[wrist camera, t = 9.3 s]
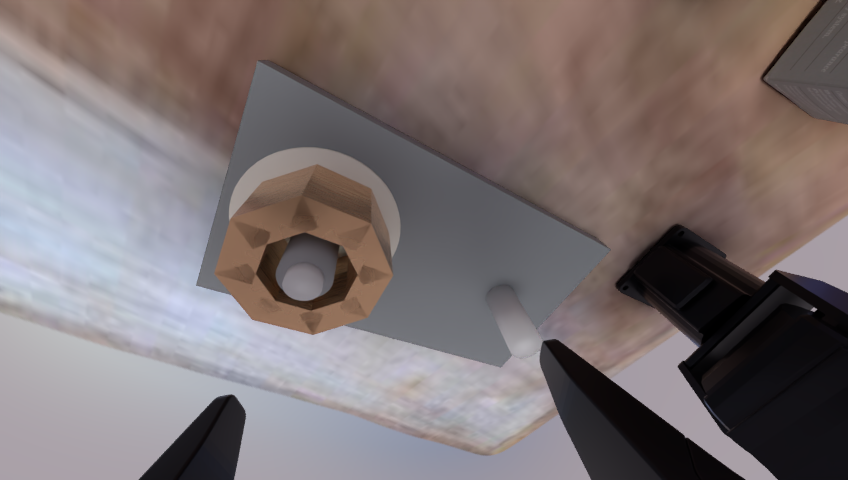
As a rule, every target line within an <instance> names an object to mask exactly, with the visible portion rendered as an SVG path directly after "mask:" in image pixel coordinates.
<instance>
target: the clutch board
mask: <svg viewBox="0 0 848 480" xmlns="http://www.w3.org/2000/svg"><path fill="white" fill-rule="evenodd" d="M316 164H318V165H320V166H323V167H325V168H327V169H329V170H331V171H334V172H336V173H338V174H340V175H343V176H345V177H347V178H349V179H351V180H354V181H356V182H358V183H360V184H362V185H365V186H367V187H369V188H371V189H372V191H373V194H374V196H375V199H376V201H377V204H378V206H379V209H380V211H381V214H382V216H383V219H384V222H385V224H386V227H387V229H388V232H389V236H390V246H391V257H392V267H393V277H392V278H391V280H390V282H389V283H388V285H387V287H386V288H385V290H384V292H383V293H382V295H381V296H380V298H379V300H378V301H377V303H376V305H375V306H374V308H373V310H372V311H371V313H370V315H369V316H368V318H365V319H362V320H359V321H356V322H352V323H349V324H346V325H345V326H349V327H352V328H356V329H360V330H364V331H367V332H371V333H375V334H378V335H382V336H386V337H390V338H393V339H397V340H401V341H404V342H408V343H412V344H416V345H419V346H423V347H427V348H430V349H434V350H438V351H442V352H445V353H449V354H453V355H456V356H460V357H464V358H468V359H471V360H475V361H479V362H483V363H486V364H490V365H494V366H497V367H502V366H503V365H504V364H505V362H506V361H507V360H508V359H509V358H510V357H511V356H512V355H513V356H514V357H516V358H527V357H530V356H532V355H534V354H536V353H537V352H538V351H539V350H540V349H541V346H542V342H543V340H542V338H541V336H540V335H539V333H538V331H537V330H536V329H537V328H538V327H539V326H540V325H541V324H542V323H543V322H544V321H545V320H546V319H547V318H548V317H549V315H550V314H551V313H552V312H553V311H554V310H555V309H556V308H557V307H558V306H559V305H560V304H561V303H562V302H563V301H564V299H565V298H566V297H567V296H568V295H569V294H570V293H571V292H572V291H573V290H574V289H575V288H576V287H577V286H578V284H579V283H580V282H581V281H582V280H583V279H584V278H585V277H586V276H587V275H588V274H589V273H590V272H591V271H592V270H593V268H594V267H595V266H596V265H597V264H598V263H599V262H600V261H601V260H602V259H603V258H604V257H605V256H606V255H607V254H608V252H609V251H610V250H611V249H610V248H608V247H607V246H606V245H605V244H603V243H602V242H601V241H600V240H598V239H597V238H595V237H593V236H592V235H590V234H588V233H586V232H584V231H582V230H581V229H579V228H577V227H575V226H573V225H571V224H569V223H568V222H566V221H564V220H562V219H560V218H558V217H557V216H555V215H553V214H551V213H549V212H547V211H546V210H544V209H542V208H540V207H538V206H536V205H534V204H533V203H531V202H529V201H527V200H525V199H523V198H522V197H520V196H518V195H516V194H514V193H512V192H510V191H509V190H507V189H505V188H503V187H501V186H499V185H498V184H496V183H494V182H492V181H490V180H488V179H486V178H485V177H483V176H481V175H479V174H477V173H475V172H474V171H472V170H470V169H468V168H466V167H464V166H462V165H461V164H459V163H457V162H455V161H453V160H451V159H450V158H448V157H446V156H444V155H442V154H440V153H439V152H437V151H435V150H433V149H431V148H429V147H427V146H426V145H424V144H422V143H420V142H418V141H416V140H415V139H413V138H411V137H409V136H407V135H405V134H403V133H402V132H400V131H398V130H396V129H394V128H392V127H391V126H389V125H387V124H385V123H383V122H381V121H379V120H378V119H376V118H374V117H372V116H370V115H368V114H367V113H365V112H363V111H361V110H359V109H357V108H356V107H354V106H352V105H350V104H348V103H346V102H344V101H343V100H341V99H339V98H337V97H335V96H333V95H332V94H330V93H328V92H326V91H324V90H322V89H320V88H319V87H317V86H315V85H313V84H311V83H309V82H308V81H306V80H304V79H302V78H300V77H298V76H296V75H295V74H293V73H291V72H289V71H287V70H285V69H284V68H282V67H280V66H278V65H276V64H274V63H273V62H271V61H269V60H259V61H257V65H256V69H255V72H254V76H253V80H252V83H251V87H250V90H249V94H248V98H247V101H246V105H245V109H244V112H243V116H242V120H241V123H240V127H239V131H238V134H237V138H236V142H235V145H234V149H233V153H232V156H231V160H230V163H229V167H228V171H227V174H226V178H225V182H224V185H223V189H222V193H221V196H220V200H219V204H218V207H217V211H216V215H215V218H214V222H213V226H212V229H211V233H210V236H209V240H208V244H207V247H206V251H205V255H204V258H203V262H202V266H201V269H200V273H199V277H198V280H197V284H196V286H200V287H204V288H207V289H211V290H215V291H219V292H222V293H226V294H230V295H231V293H230V292H229V291H228V290H227V289H226V287H225V286H224V285H223V284H222V283H221V282H220V280H219V279H218V278H217V277H216V276H215V274H214V272H215V269H216V266H217V262H218V259H219V255H220V252H221V249H222V245H223V242H224V239H225V235H226V232H227V229H228V225H229V222H230V219H231V217H232V216H233V215H234V214H235V213H236V211H237V210H238V209H239V208H240V207H241V206H242V204H243V203H244V202H245V201H246V200H247V199H248V198H249V196H250V195H251V194H252V193H253V192H254V191H255V189H256V188H257V187H258V186H259V185H260V184H261V182H263V181H266V180H270V179H273V178H276V177H279V176H282V175H285V174H288V173H291V172H294V171H297V170H300V169H304V168H307V167H310V166H313V165H316ZM285 240H286V241H287V243H288V245H287V247H286V249H285V251H284V254H283V256H282V258H281V260H280V263H279V265H278V267H277V270H276V280H277V283H278V285H279V286H280V287H281V289H283V290H284V292H285V293H286V294H287V295H288V296H289V297H291V298H293V299H295V300H299V301H308V300H312V299H315V298H316V297H319V296H322V295H324V294H325V293H326V292H328V291H329V290H330V288H331V287H332V285H333V281H334V275H335V270H336V264H337V258H340V257H343V256H346V255H347V253H346V251H345V249H344V247H343V246H341V245H338V244H335V243H333V242H330V241H327V240H325V239H322V238H319V237H316V236H314V235H311V234H308V233H305V232H304V233H301V234H298V235H294V236H291V237H288V238H285Z"/></svg>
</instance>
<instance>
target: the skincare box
mask: <svg viewBox="0 0 848 480" xmlns="http://www.w3.org/2000/svg"><path fill="white" fill-rule="evenodd" d="M764 81H766V82H767V83H768V84H770V85H771V86H772V87H774V88H775V89H777V90H778V91H779V92H781V93H782V94H783V95H785V96H786V97H787V98H788V99H790V100H791V101H792V102H794V103H795V104H796V105H797V106H798V107H800V108H801V109H803V110H804V111H805V112H807V113H808V114H809V115H811V116H812V117H814V118H816V119H823V120H828V121H833V122H838V123H843V124H848V0H827V1H826V3H825V4H824V5H823V6H822V7H821V9H820V10H819V11H818V12H817V13H816V15H815V16H814V17H813V18H812V20H811V21H810V22H809V23H808V24H807V25H806V27H805V28H804V29H803V30H802V32H801V33H800V34H799V35H798V36H797V38H796V39H795V40H794V41H793V43H792V44H791V45H790V46H789V47H788V49H787V50H786V51H785V52H784V54H783V55H782V56H781V57H780V59H779V60H778V61H777V63H776V64H775V65H774V66H773V67H772V69H771V70H770V71H769V72H768V73H767V75H766V76H765V77H764Z"/></svg>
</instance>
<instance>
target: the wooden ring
mask: <svg viewBox="0 0 848 480" xmlns="http://www.w3.org/2000/svg"><path fill="white" fill-rule="evenodd" d="M304 232H305V233H308V234H311V235H314V236H316V237H319V238H322V239H325V240H327V241H330V242H333V243H335V244H338V245H341V246H343V247H344V249H345V251H346V253H347V255H346V256H343V257H340V258H337V264H336V270H335V275H334V281H333V285H332V287H331V288H330V290H329V291H328V292H326V293H325V294H324V295H322V296H319V297H316V298H315V299H312V300H308V301H299V300H295V299H293V298H291V297H289V296H288V295H287V294H286V293H285V292H284V290H283V289H281V287H280V286H279V285H278V283H277V280H276V270H277V267H278V265H279V263H280V260H281V258H282V256H283V254H284V251H285V249H286V247H287V245H288V243H287V241H286V240H285V238H288V237H291V236H294V235H298V234H301V233H304ZM214 274H215V276H216V277H217V278H218V279H219V280H220V282H221V283H222V284H223V285H224V286H225V287H226V289H227V290H228V291H229V292H230V293H231V295H232V296H233V297H234V298H235V299H236V301H237V302H238V303H239V304H240V305H241V307H242V308H243V309H244V310H245V311H246V313H247V314H248V315H249V316H250V317H251V319H252V320H256V321H260V322H264V323H268V324H272V325H276V326H280V327H284V328H288V329H292V330H296V331H300V332H304V333H308V334H312V335H314V334H317V333H320V332H324V331H327V330H330V329H333V328H336V327H340V326H343V325H346V324H349V323H352V322H356V321H359V320H362V319H365V318H368V316H369V315H370V313H371V311H372V310H373V308H374V306H375V305H376V303H377V301H378V300H379V298H380V296H381V295H382V293H383V292H384V290H385V288H386V287H387V285H388V283H389V282H390V280H391V278H392V277H393V267H392V257H391V246H390V236H389V232H388V229H387V227H386V224H385V222H384V219H383V216H382V214H381V211H380V209H379V206H378V204H377V201H376V199H375V196H374V194H373V191H372V189H371V188H369V187H367V186H365V185H362V184H360V183H358V182H356V181H354V180H351V179H349V178H347V177H345V176H343V175H340V174H338V173H336V172H334V171H331V170H329V169H327V168H325V167H323V166H320V165H318V164H316V165H313V166H310V167H307V168H304V169H300V170H297V171H294V172H291V173H288V174H285V175H282V176H279V177H276V178H273V179H270V180H266V181H263V182H261V184H260V185H259V186H258V187H257V188H256V189H255V191H254V192H253V193H252V194H251V195H250V196H249V198H248V199H247V200H246V201H245V202H244V203H243V204H242V206H241V207H240V208H239V209H238V210H237V211H236V213H235V214H234V215H233V216H232V217H231V219H230V222H229V225H228V229H227V232H226V235H225V239H224V242H223V245H222V249H221V252H220V255H219V259H218V262H217V266H216V269H215V272H214Z"/></svg>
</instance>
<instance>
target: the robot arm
mask: <svg viewBox="0 0 848 480" xmlns="http://www.w3.org/2000/svg"><path fill="white" fill-rule="evenodd" d="M725 258H726V254H725V253H723V252H722V251H720V250H719V249H717V248H716V247H714V246H713V245H711V244H710V243H708V242H707V241H705V240H704V239H702V238H701V237H699V236H698V235H696V234H695V233H693V232H692V231H690V230H689V229H687V228H685V227H684V226H682V225H678V226H675V227H674V228H673V229H672V230H671V231H670V232H669V233H668V234H667V235H666V236H665V237H664V238H663V239H662V240H661V241H660V242H659V243H658V244H657V245H656V246H655V247H654V248H653V249H652V250H651V251H650V252H649V253H648V254H647V255H646V256H645V257H644V258H643V259H642V260H641V261H640V262H639V263H638V264H637V265H636V266H635V267H634V268H633V269H632V270H631V271H630V272H629V273H628V274H627V275H626V276H625V277H624V278H623V279H622V280H621V281H620V282H619V283H618V284H617V286H616V288H617V289H618V290H619V291H620V292H621V293H623V294H626V295H628V296H630V297H632V298H634V299H636V300H638V301H641V302H643V303H645V304H647V305H649V306H651V307H653V308H655V309H657V310H658V311H659V312H660V313H661V314H662V315H663V316H664V317H665V318H667V319H668V320H669V321H670V322H671V323H672V324H673V325H674V326H676V327H677V328H678V329H679V330H680V331H681V332H682V333H683V334H684V335H686V336H687V337H688V338H689V339H690V340H691V341H692V342H693V343H695V344H696V345H697V346H698V347H699V348H698V349H697V350H696V351H695V352H694V353H693V354H692V355H691V356H690V357H689V358H688V359H686V360H685V361H682V362H681V363H680V364H679V365H678V368H679V370H680V371H681V373H682V374H683V375H684V377H685V378H686V380H687V381H688V383H689V384H690V386H691V387H692V389H693V390H694V391H695V393H696V394H697V396H698V397H699V399H700V400H701V402H702V403H703V405H704V406H705V407H706V409H707V410H708V412H709V413H710V415H711V416H712V418H713V419H714V420H715V422H716V423H717V425H718V426H719V428H720V429H721V430H722V432H723V433H724V434H725V435H727V436H728V437H730V438H731V439H732V440H733V441H734V442H736V443H737V444H738V445H739V446H741V447H742V448H743V449H744V450H746V451H747V452H749V453H750V454H752V455H753V456H754V457H755V458H756V459H757V460H758V461H759V462H760V463H761V464H763V465H764V466H765V467H766V468H767V469H768V470H769V471H770V472H771V473H772V474H773V475H774V476H775V477H776V478H777V479H778V480H848V293H847V292H845V291H842V290H840V289H838V288H836V287H834V286H832V285H829V284H827V283H825V282H823V281H820V280H816V279H811V278H807V277H803V276H799V275H795V274H791V273H787V272H783V271H779V270H775V271H774V272H773V273H772V274H771V275H770V276H769V279H768V281H766V282H764V281H762V280H761V279H759V278H757V277H756V276H754V275H752V274H750V273H749V272H747V271H745V270H743V269H742V268H740V267H738V266H737V265H735V264H733V263H731V262H730V261H728V260H726V259H725ZM813 307H815V308H817V310H816V311H815V312H813V311H810V310H811V309H812V308H813ZM540 365H541V368H542V371H543V373H544V376H545V379H546V381H547V384H548V386H549V389H550V392H551V394H552V397H553V400H554V402H555V405H556V407H557V410H558V413H559V415H560V417H561V419H562V421H563V424H564V426H565V428H566V430H567V432H568V434H569V436H570V438H571V440H572V442H573V444H574V446H575V448H576V450H577V452H578V454H579V456H580V458H581V460H582V462H583V464H584V466H585V468H586V470H587V472H588V474H589V476H590V478H591V480H745V479H744V478H742V477H741V476H739V475H738V474H736V473H735V472H733V471H732V470H731V469H729V468H728V467H727V466H725V465H724V464H722V463H721V462H720V461H718V460H717V459H716V458H714V457H713V456H712V455H710V454H709V453H707V452H706V451H705V450H703V449H702V448H701V447H699V446H698V445H697V444H695V443H694V442H693V441H691V440H690V439H689V438H685V436H684V435H683V434H682V433H681V432H679V431H678V430H676V429H675V428H674V427H673V426H671V425H670V424H669V423H667V422H666V421H665V420H663V419H662V418H661V417H659V416H658V415H657V414H655V413H654V412H653V411H651V410H650V409H649V408H648V407H646V406H645V405H644V404H642V403H641V402H640V401H638V400H637V399H635V398H634V397H633V396H632V395H630V394H629V393H628V392H626V391H625V390H624V389H622V388H621V387H620V386H618V385H617V384H616V383H614V382H613V381H611V380H610V379H609V378H608V377H606V376H605V375H604V374H602V373H601V372H600V371H598V370H597V369H596V368H594V367H593V366H592V365H590V364H589V363H588V362H587V361H585V360H584V359H583V358H581V357H580V356H579V355H577V354H576V353H575V352H573V351H572V350H571V349H569V348H568V347H567V346H565V345H564V344H563V343H561V342H560V341H559V340H556V339H552V340H546V341H543V342H542V346H541V352H540ZM245 419H246V413H245V410H244V408H243V407H242V405H241V404H240V402H239V401H238V399H237V398H236V397H235V396H234V395H225V396H220V397H217V398H216V399H214V400H213V401H212V403H210V404H209V406H208V407H207V408H206V409H205V410H204V411H203V412H202V413H201V414H200V415H199V416H198V417H197V418H196V419H195V420H194V422H192V424H191V425H190V426H189V427H188V428H187V429H186V430H185V431H184V432H183V433H182V434H181V435H180V436H179V437H178V438H177V439H176V440H175V442H174V443H173V444H172V445H171V446H170V447H169V448H168V449H167V450H166V451H165V452H164V453H163V454H162V455H161V457H159V459H158V460H157V461H156V462H155V463H154V464H153V465H152V466H151V467H150V468H149V469H148V470H147V471H146V472H145V473H144V474H143V475H142V477H141V478H140V479H139V480H234V476H235V472H236V467H237V461H238V457H239V451H240V445H241V440H242V435H243V429H244V424H245Z"/></svg>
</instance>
